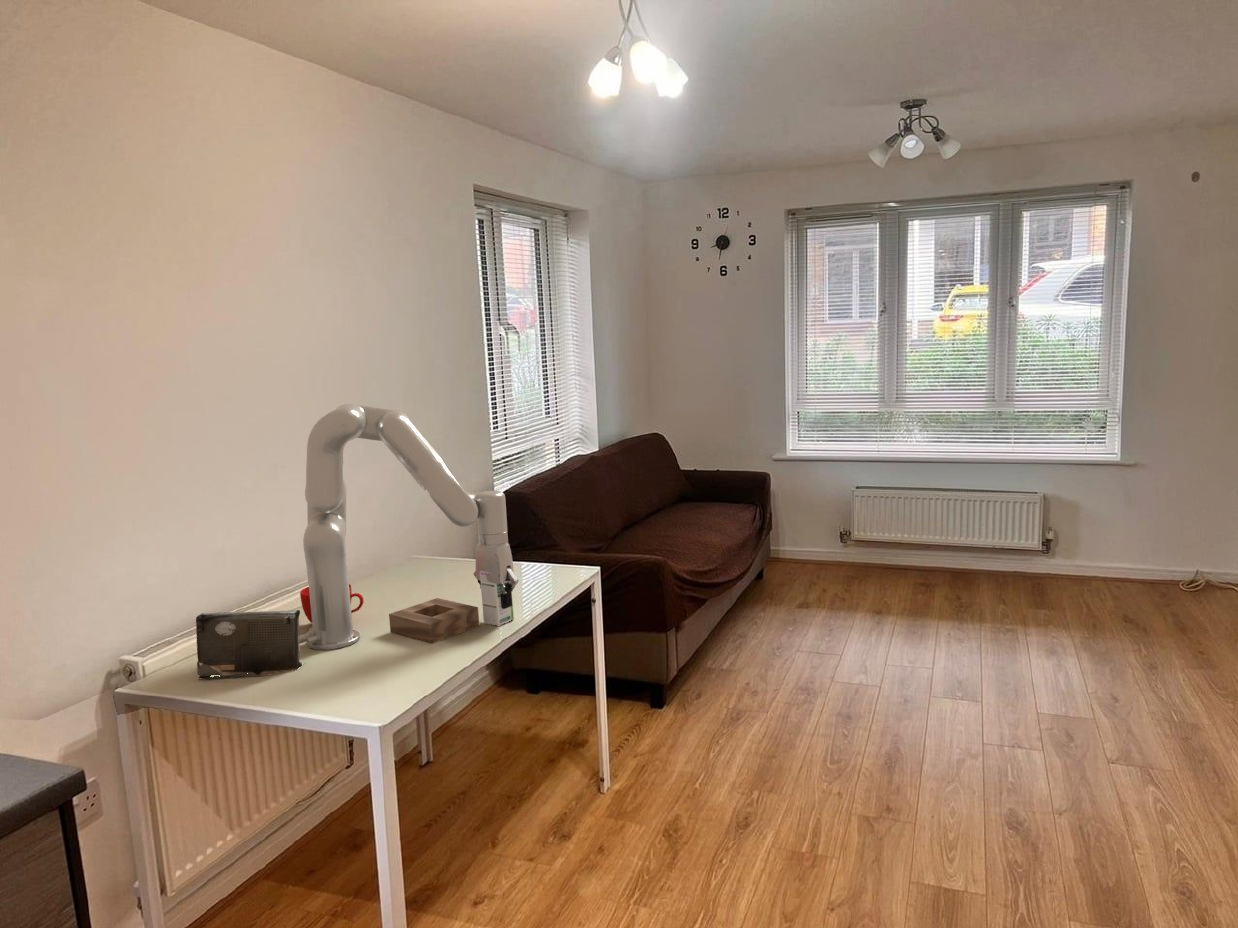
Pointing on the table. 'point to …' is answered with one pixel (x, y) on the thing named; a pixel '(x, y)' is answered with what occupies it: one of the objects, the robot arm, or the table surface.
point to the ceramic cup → (307, 607)
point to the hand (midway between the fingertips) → (497, 604)
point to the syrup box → (494, 603)
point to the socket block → (434, 620)
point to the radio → (247, 643)
